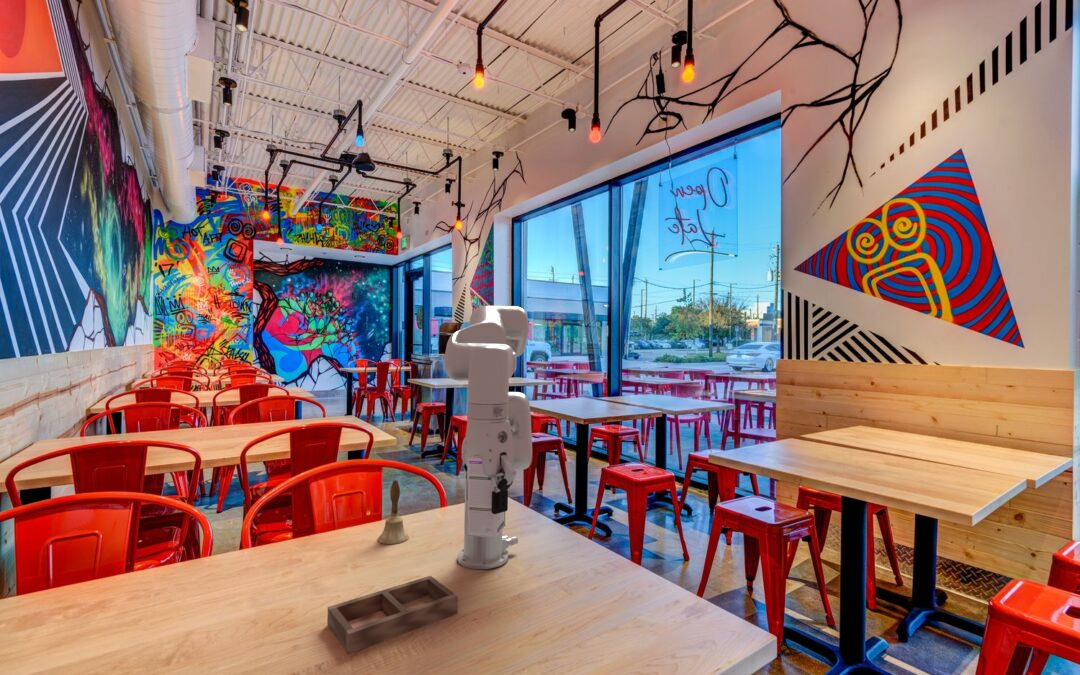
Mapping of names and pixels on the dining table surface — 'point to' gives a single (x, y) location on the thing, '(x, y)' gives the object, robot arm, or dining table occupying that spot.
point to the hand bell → (394, 521)
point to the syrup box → (481, 502)
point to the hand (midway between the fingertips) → (486, 505)
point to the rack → (389, 613)
